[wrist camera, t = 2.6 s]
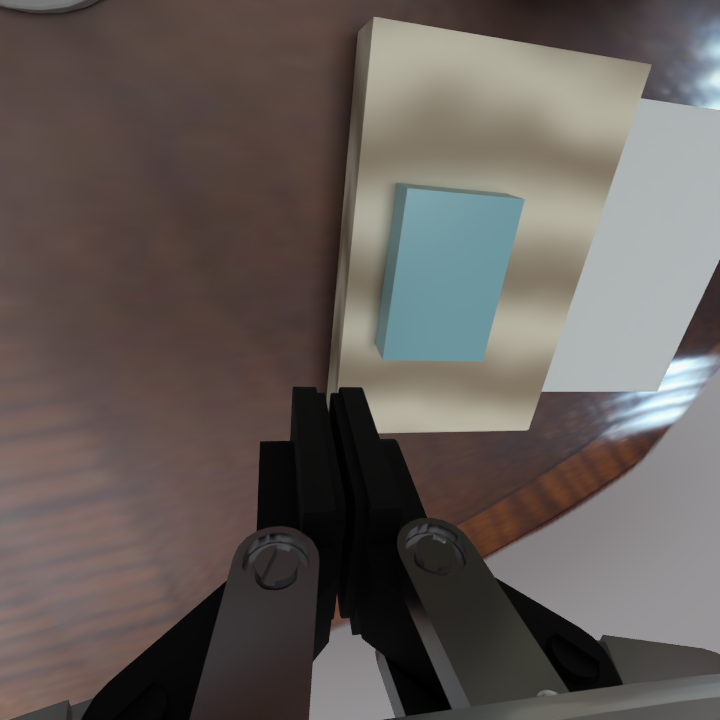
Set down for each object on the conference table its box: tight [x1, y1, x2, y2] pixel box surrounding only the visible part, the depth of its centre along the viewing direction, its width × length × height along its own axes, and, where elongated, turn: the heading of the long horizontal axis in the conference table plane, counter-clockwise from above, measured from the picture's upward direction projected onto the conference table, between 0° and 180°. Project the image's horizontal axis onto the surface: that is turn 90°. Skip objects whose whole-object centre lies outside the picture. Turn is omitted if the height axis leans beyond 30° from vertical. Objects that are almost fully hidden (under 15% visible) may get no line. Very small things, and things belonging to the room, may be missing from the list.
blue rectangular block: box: [375, 183, 525, 362], centre depth 24 cm, size 9×6×2 cm, turn 174°
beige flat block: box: [326, 17, 651, 433], centre depth 27 cm, size 22×14×4 cm, turn 174°
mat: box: [541, 98, 720, 392], centre depth 32 cm, size 20×13×1 cm, turn 174°
